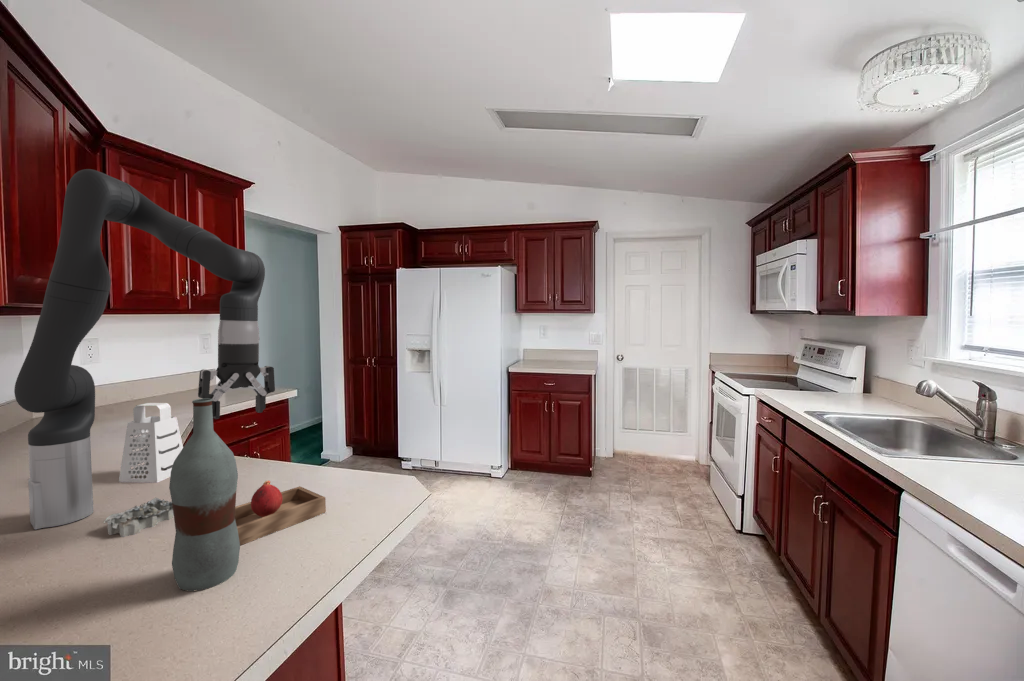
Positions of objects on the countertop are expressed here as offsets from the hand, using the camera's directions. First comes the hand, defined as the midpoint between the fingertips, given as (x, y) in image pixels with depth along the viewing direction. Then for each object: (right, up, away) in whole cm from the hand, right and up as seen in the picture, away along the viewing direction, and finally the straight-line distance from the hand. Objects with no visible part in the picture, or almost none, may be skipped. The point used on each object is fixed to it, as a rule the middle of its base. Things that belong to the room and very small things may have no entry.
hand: (238, 415), depth 94 cm
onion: (+8, -22, -3) cm, 23 cm away
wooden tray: (+8, -23, -3) cm, 24 cm away
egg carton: (-18, -23, -3) cm, 30 cm away
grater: (-40, -21, +25) cm, 52 cm away
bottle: (+9, -24, -22) cm, 33 cm away
